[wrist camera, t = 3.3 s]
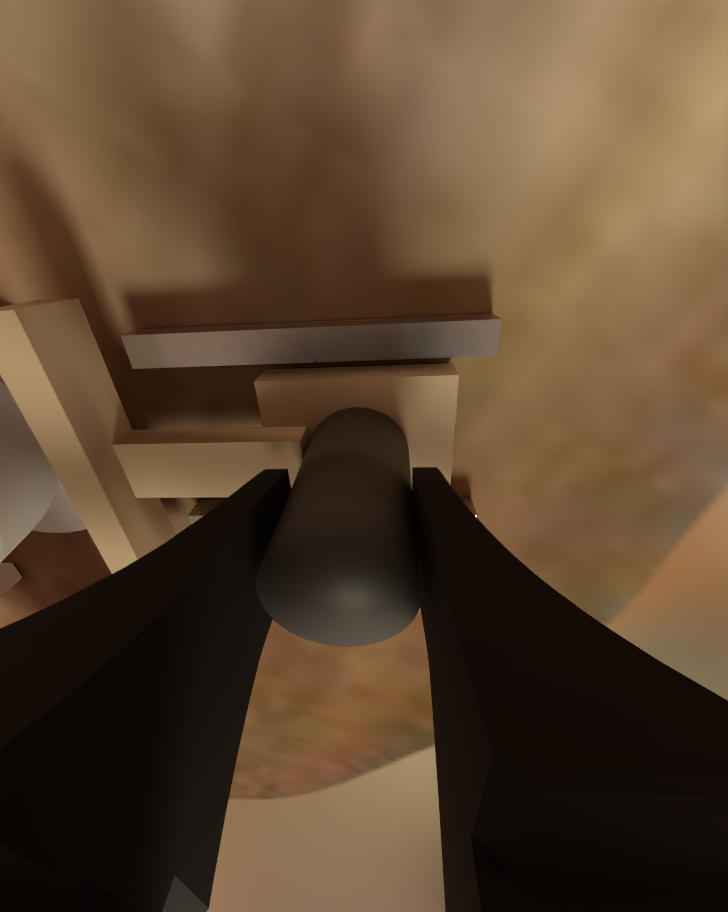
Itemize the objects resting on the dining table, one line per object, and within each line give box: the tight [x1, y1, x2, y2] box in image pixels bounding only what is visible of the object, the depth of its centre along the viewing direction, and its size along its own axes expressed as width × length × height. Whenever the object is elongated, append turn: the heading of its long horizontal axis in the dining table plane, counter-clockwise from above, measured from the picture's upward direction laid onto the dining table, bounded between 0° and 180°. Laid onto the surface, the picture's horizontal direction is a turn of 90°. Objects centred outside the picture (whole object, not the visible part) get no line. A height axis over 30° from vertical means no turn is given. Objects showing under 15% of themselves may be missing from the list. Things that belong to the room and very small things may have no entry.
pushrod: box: [0, 298, 459, 646], centre depth 10 cm, size 10×12×7 cm
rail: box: [121, 313, 502, 524], centre depth 13 cm, size 8×11×1 cm
